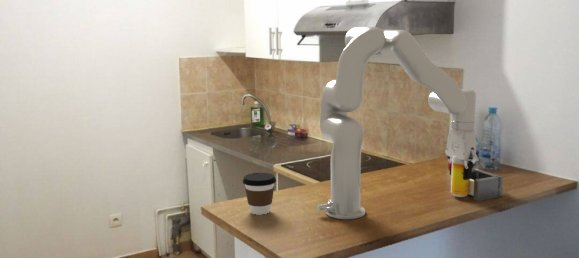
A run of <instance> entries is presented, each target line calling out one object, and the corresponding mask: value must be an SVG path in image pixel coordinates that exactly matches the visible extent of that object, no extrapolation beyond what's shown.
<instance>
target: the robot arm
mask: <svg viewBox="0 0 579 258" xmlns="http://www.w3.org/2000/svg"><path fill="white" fill-rule="evenodd" d="M344 44H345V47H344V48H343V50H342V52H341V54H340V56H339V59H338V62H337V68H336V69H337V70H336V76H335V77H336V78H335V79H332V80H330V81H329V82H328V83H327V84H326V85H325V86H324V88H323V91H322V93H321V99H320V100H321V101H320V103H321V104H320V113H319V114H320V117H319V129H320V133H321V135H322V137H323V138H325V140H328V141H330V142H331V143H332V148H331V153H330V160H329V161H330V165H329V166H330V198H329V199H327V202H325V203H322V204H320V203H319V204H316V210H317V211H318V212H319V211H320V212H321V211H324V212H325V214H326V215H327V216H328V217H330V218H334V219H338V220H355V219H359V218H362V217H364V216H365V214H366V208H364V207H363V206H361V169H362V168H361V164H362V163H361V160H362V146H363V141H364V135H365V134H364V128H363V125H362V124H361V123H360V122H359V121H358V120H357V119H356V118H354V117H352V116H349V115H348V113H353V112H357V110H358V109H359V108H361V105H362V104H363V96H364V95H363V93H364V82H365V81H364V80H365V71H366V67H367V64H368V62H369V61H370V60H371V59H372V57H374V56H388V57H389V56H390V57H393V58H394V59H395V60H396V62H397V63H398V64H399V65H400V67H401V68H402V69H403V71H404V72H405V73H406V75H407V76H408V77H409V78H410V79H411V80H412V81H413V82H415V83H416V84H418V85H420V86H421V87H424V88H426V89H428V90H429V91H431V92H430V93H429V94H428V97H427V98H428V99H427V104H428V106H429V107H430V108H431V109H432V110H433V111H436V112H439V113H443V114H447V115H451V120H450V123H451V124H450V125H451V126H450V128H449V129H448V133H447V134H448V135H447V140H446V149H445V150H444V153H445V154H446V156H447V159H448V161H449V163H450V171H449V176H451V171H452V157H453V156H456V157H457V159H459V160H462V161H464V165H465V168H464V172H463V179H464V180H468V179H471V178H472V168H473V169H475V168H474V167H475V165H476V164H477V163H478V162H479V161H480V160H479V157H478V155H477V138H476V130H475V125H476V124H475V122H476V121H475V119H476V102H477V93H476V91H475V90H474V89H470V88H469V89H468V88H461V87H460V86H459V85H458V84H457V82H456V81H455V80H454V79H453V77H451V76H449V75H448V73H446V72H445V71H444V70H443V69H442V68H440V67H439V66H437V64H435V63H434V62H433V61H432V60H431V59H430V57H429V56H428V55H427V54H426V52H425V50H423V47H421V45H420V44H419V42H418V41H417V40H416V38H415V37H414V36H413V35H412V33H411V32H409V31H407V30H405V29H381V28H379V27H376V26H355V27H352V28H351V29H350V30H348V31H347V32H346V34H345V36H344ZM469 157H470V159H468V158H469ZM467 161H469V164H468V162H467Z"/></svg>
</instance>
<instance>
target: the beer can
mask: <svg viewBox="0 0 579 258" xmlns="http://www.w3.org/2000/svg"><path fill="white" fill-rule="evenodd" d="M468 159H470V157H469V158H468ZM467 162H468V164H469V161H467ZM464 168H465V165H464V161H462V160H459V159H457V157H456V156H453V157H452V171H451V175H450V176H451V177H450V193H451V194H452V196H454V197H458V198H463V197H464V198H465V197H467V196H468V195H470V194H469V181H470V179H468V180H464V179H463V172H464Z"/></svg>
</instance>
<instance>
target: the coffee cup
mask: <svg viewBox="0 0 579 258" xmlns="http://www.w3.org/2000/svg"><path fill="white" fill-rule="evenodd" d="M242 183H243V185H244V186H245V187H244V189H245V195H246V199H247V200H246V201H247V204H248V207H249V211H250V213H251V214H252V215H254V214H256V216H263V215H262V214H265V215H268V214H269V213H270V212H271V210H272V209H271V208H272V203H273V199H274V190H275V183H277V178H276V176H275V175H274V174H272V173H268V172H253V173H248V174H245V175H244V176H243V179H242ZM267 213H268V214H267Z"/></svg>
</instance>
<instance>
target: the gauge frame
mask: <svg viewBox="0 0 579 258" xmlns="http://www.w3.org/2000/svg"><path fill="white" fill-rule="evenodd" d="M475 169H476V170H479V179H476V175H477V172H476V171H473V170H472V178H471V179H472V180H474V196H472V197H473V199H472V200H474V201H476V202H480V201H484V200H485V201H486V200H490V199H496V198H500V197H503V184H504V183H503V182H504V177H503V176H502V175H501V176H500V175H498V174H494V173H493V172H492V173H491V172H489V171H485V170H483V169H478V168H475Z"/></svg>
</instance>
